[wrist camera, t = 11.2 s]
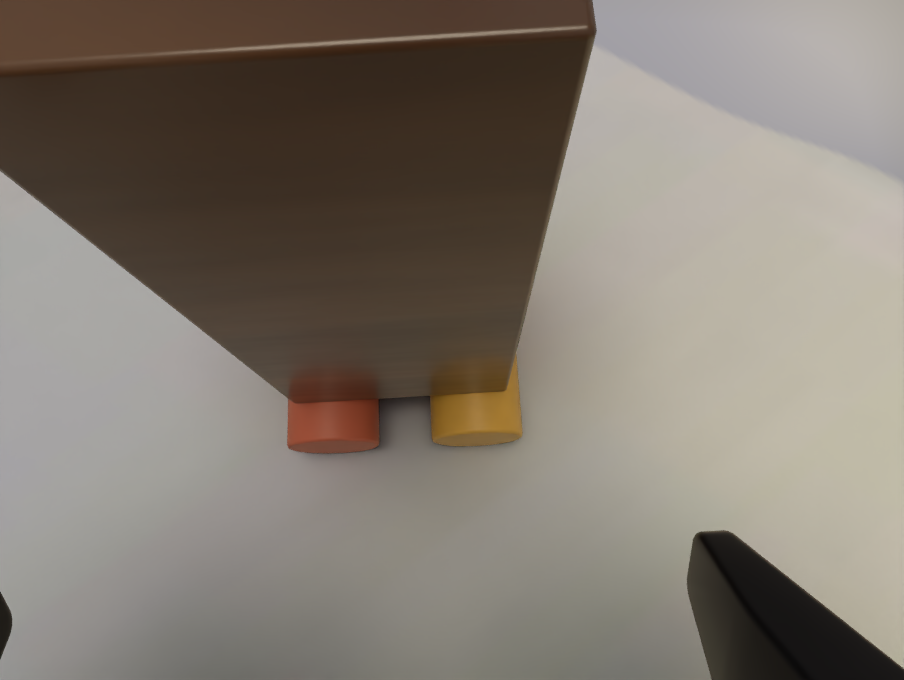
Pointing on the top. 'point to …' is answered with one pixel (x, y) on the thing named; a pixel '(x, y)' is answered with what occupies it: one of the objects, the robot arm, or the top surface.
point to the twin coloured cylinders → (451, 421)
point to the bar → (309, 170)
